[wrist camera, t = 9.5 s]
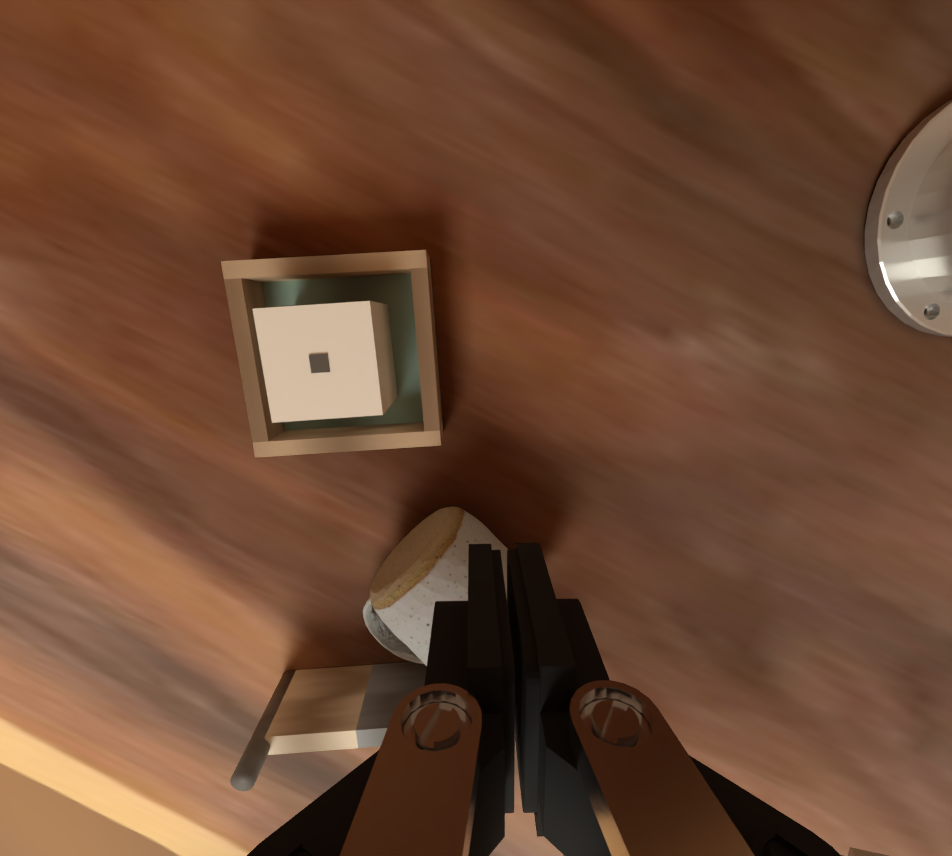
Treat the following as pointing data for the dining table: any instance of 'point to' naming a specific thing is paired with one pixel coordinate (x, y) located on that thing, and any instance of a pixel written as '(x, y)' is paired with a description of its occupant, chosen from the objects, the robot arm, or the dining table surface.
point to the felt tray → (330, 281)
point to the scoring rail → (327, 712)
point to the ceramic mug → (424, 580)
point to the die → (326, 360)
